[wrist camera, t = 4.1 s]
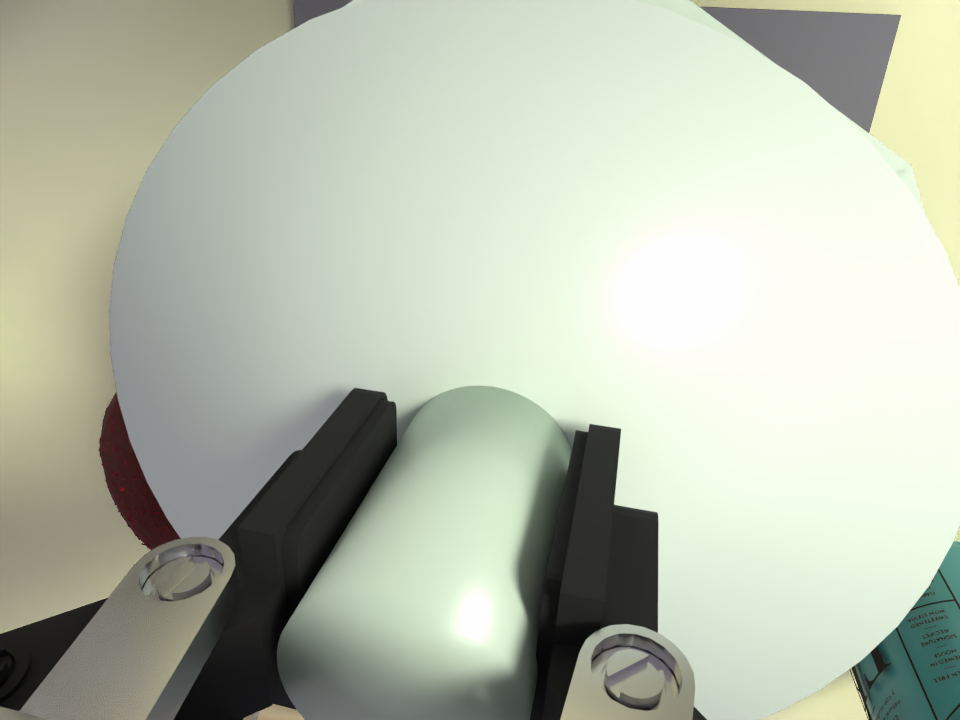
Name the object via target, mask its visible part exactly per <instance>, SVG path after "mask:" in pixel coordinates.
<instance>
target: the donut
mask: <svg viewBox="0 0 960 720" xmlns="http://www.w3.org/2000/svg"><path fill="white" fill-rule="evenodd" d="M99 445H100V449H99V450H100V456H101V459H102V465H103V468H104V472H105V477H106V480H105V481H106V482H107V485H108V488H109V491H110V494H111V496H112V498H113V500H114V502H115V505H117V507H118V509H119V511H118V512H121V515H122V517H123V518H124V520H125V521H126V522H127V524H128V526H129V528H131V529H132V531H133V532H134V534H135V536H137V537H138V539H139V540H141V541H142V542H143V543H144V544H143V543H142V545H146V546H147V547H148V548H149V549H151V551H152V550H153V549H155V548H156V547H158V546H160V545H163V544H165V543H168V542H171V541H173V540H177V539H181V538H180V537H179V535H178V534H177V532H176V531H175V529H174V528H173V526H172V525H171V524H170V522H169V521H168V519H167V517H166V516H165V514H164V512H163V510H162V508H161V506H160V505H159V503H158V501H157V499H156V497H155V495H154V494H153V492H152V490H151V488H150V486H149V485H148V483H147V481H146V478H145V476H144V474H143V471H142V469H141V466H140V464H139V462H138V459H137V457H136V454H135V452H134V450H133V447H132V445H131V442H130V439H129V436H128V432H127V429H126V426H125V422H124V419H123V415H122V412H121V408H120V405H119V401H118V397H117V392H116V394H115V395H114V397H113V399H112V401H111V403H110V404H109V406H108V408H107V409H106V411H105V416H104V419H103V425H102V433H101V438H100V444H99Z"/></svg>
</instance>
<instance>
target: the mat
mask: <svg viewBox="0 0 960 720" xmlns="http://www.w3.org/2000/svg"><path fill="white" fill-rule="evenodd" d="M351 1H353V0H293V4H294V20H295V28H296V27H298V26H300V25H301V24H303V23H305V22H307V21H309V20H310V19H313V18H316V17H319V16H321V15H324V14H327V13H329V12H332V11H335V10H338V9H340V8H342V7H344V6H345V5H347V4H348V3H350V2H351ZM700 8H701V9H703V10H704V11H705V12H707V13H708V14H709V15H711V16H712V17H713V18H715V19H716V20H717V21H719V22H720V23H721V24H723V25H724V26H725V27H727V28H728V29H730V30H731V31H732V32H734V33H735V34H736V35H738V36H739V37H740V38H742V39H743V40H744V41H746V42H747V43H748V44H750V45H751V46H752V47H754V48H755V49H756V50H758V51H759V52H760V53H762V54H763V55H764V56H766V57H767V58H768V59H770V60H771V61H772V62H774V63H775V64H777V65H778V66H780V67H781V68H783V69H784V70H786V71H788V72H789V73H791V74H792V75H794V76H796V77H797V78H799V79H800V80H802V81H803V82H805V83H806V84H807V85H808V86H810V87H811V88H812V89H813V90H814V91H815V92H816V93H818V94H819V95H820V96H821V97H822V98H823V99H824V100H826V101H827V102H828V103H829V104H830V105H832V106H833V107H834V108H836V109H837V110H838V111H840V112H841V113H842V114H844V115H845V116H846V117H848V118H849V119H850V120H852V121H853V122H854V123H856V124H857V125H858V126H860V127H861V128H862V129H864V130H865V131H866V132H868V133H869V131H870V127H871V124H872V120H873V116H874V113H875V109H876V105H877V101H878V98H879V94H880V90H881V87H882V83H883V79H884V76H885V72H886V68H887V65H888V61H889V57H890V54H891V50H892V46H893V43H894V39H895V35H896V32H897V28H898V24H899V21H900V17H901V15H888V14H864V13H840V12H815V11H791V10H767V9H742V8H718V7H700Z"/></svg>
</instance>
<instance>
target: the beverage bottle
mask: <svg viewBox="0 0 960 720" xmlns="http://www.w3.org/2000/svg"><path fill="white" fill-rule="evenodd" d="M850 669H851V668H850ZM850 669H849V670H850ZM852 670H853V673H854V676H855V679H856V682H857V685H858V688H859V689H858V688H857V686H856V684H855V686H856V688H857V691H859V692H860V693H861V696H862V699H863V702H864V705H865V708H864V710H865V712H866V709H867V713H868V716H867V718H868V717H869V719H868V720H960V542H955V541H954V542H953V543H952V545H951V547H950V549H949V551H948V552H947V554H946V556H945V558H944V560H943V562H942V563H941V565H940V567H939V569H938V571H937V572H936V574H935V576H934V578H933V580H932V581H931V583H930V585H929V587H928V588H927V589H926V591H925V592H924V593H923V594H922V596H921V597H920V598H919V599H918V601H917V602H916V603H915V605H914V606H913V607H912V608H911V610H910V611H909V612H908V614H907V615H906V616H905V617H904V619H903V620H902V621H901V623H900V624H899V625H898V626H897V627H896V628H895V629H894V630H893V631H892V632H891V633H890V634H889V635H888V636H887V637H886V638H885V639H884V640H883V641H882V642H880V643H879V644H878V645H877V646H876V647H875V648H874V649H873V650H872V651H871V652H870V653H869V654H868V655H867V656H866V657H865V658H864V659H863V660H861V661H860V662H859V663H857V664H856V665H854V666H853V667H852ZM850 672H851V671H850ZM851 675H852V673H851ZM852 678H853V676H852ZM853 680H854V679H853ZM854 683H855V681H854ZM859 692H858V694H859ZM859 696H860V695H859ZM860 699H861V697H860ZM861 702H862V700H861ZM862 704H863V703H862ZM863 707H864V706H863ZM866 715H867V714H866Z"/></svg>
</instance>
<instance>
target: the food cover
mask: <svg viewBox="0 0 960 720" xmlns="http://www.w3.org/2000/svg"><path fill="white" fill-rule="evenodd" d="M109 314H110V345H111V360H112V366H113V372H114V378H115V384H116V391H117V397H118V401H119V405H120V408H121V412H122V415H123V419H124V422H125V426H126V429H127V432H128V436H129V439H130V442H131V445H132V447H133V450H134V452H135V454H136V457H137V459H138V462H139V464H140V466H141V469H142V471H143V474H144V476H145V478H146V481H147V483H148V485H149V486H150V488H151V490H152V492H153V494H154V495H155V497H156V499H157V501H158V503H159V505H160V506H161V508H162V510H163V512H164V514H165V516H166V517H167V519H168V521H169V522H170V524H171V525H172V526H173V528H174V529H175V531H176V532H177V534H178V535H179V537H180V538H181V539H182V538H187V537H208V538H212V539H216V540H218V539H219V538H220V537H221V536H222V535H223V534H224V532H225V531H226V530H227V529H228V528H229V527H230V525H231V524H232V523H233V522H234V521H235V519H236V518H237V517H238V516H239V515H240V514H241V512H242V511H243V510H244V509H245V508H246V506H247V505H248V504H249V503H250V502H251V501H252V499H253V498H254V497H255V496H256V495H257V493H258V492H259V491H260V490H261V489H262V488H263V486H264V485H265V484H266V483H267V482H268V480H269V479H270V478H271V477H272V476H273V475H274V473H275V472H276V471H277V470H278V469H279V468H280V466H281V465H282V464H283V463H284V462H285V460H286V459H287V458H288V457H289V456H290V455H291V454H292V453H293V452H294V451H297V450H302V449H303V448H304V447H305V446H306V445H307V443H308V442H309V441H310V440H311V439H312V437H313V436H314V435H315V434H316V433H317V431H318V430H319V429H320V428H321V427H322V425H323V424H324V423H325V422H326V420H327V419H328V418H329V417H330V416H331V414H332V413H333V412H334V411H335V410H336V408H337V407H338V406H339V405H340V404H341V402H342V401H343V400H344V399H345V398H346V396H347V395H348V394H349V393H350V392H351V390H353V389H354V388H360V389H366V390H373V391H379V392H385V394H386V395H387V398H388V401H393V402H395V404H396V410H397V446H396V448H395V449H394V451H393V452H392V454H391V456H390V457H389V459H388V461H387V462H386V464H385V465H384V467H383V469H382V470H381V472H380V474H379V475H378V477H377V478H376V480H375V482H374V483H373V485H372V486H371V488H370V490H369V491H368V493H367V495H366V496H365V498H364V499H363V501H362V503H361V504H360V506H359V508H358V509H357V511H356V512H355V514H354V516H353V517H352V519H351V521H350V522H349V524H348V525H347V527H346V529H345V530H344V532H343V533H342V535H341V537H340V538H339V540H338V542H337V543H336V545H335V546H334V548H333V550H332V551H331V553H330V555H329V556H328V558H327V559H326V561H325V563H324V564H323V566H322V568H321V569H320V571H319V572H318V574H317V576H316V577H315V579H314V580H313V582H312V584H311V585H310V587H309V589H308V590H307V592H306V593H305V595H304V597H303V598H302V600H301V602H300V603H299V605H298V606H297V608H296V610H295V611H294V613H293V614H292V616H291V618H290V619H289V621H288V623H287V624H286V626H285V628H284V629H283V631H282V633H281V636H280V639H279V642H278V647H277V666H278V671H279V676H280V679H281V681H282V684H283V687H284V689H285V691H286V693H287V695H288V697H289V698H290V700H291V702H292V703H293V705H294V706H295V707H296V709H297V710H298V712H299V713H300V714H301V715H302V716H303V718H304V719H305V720H530V716H531V711H532V705H533V700H534V695H535V689H536V684H537V679H538V665H537V659H536V651H537V641H538V632H539V623H540V614H541V605H542V598H543V591H544V585H545V579H546V573H547V568H548V564H549V559H550V554H551V549H552V544H553V539H554V534H555V529H556V525H557V520H558V515H559V510H560V505H561V500H562V495H563V491H564V486H565V481H566V476H567V471H568V466H569V461H570V457H571V452H572V447H573V442H574V437H575V432H576V430H578V431H585V432H588V430H589V425H590V424H594V425H600V426H607V427H613V428H620V429H621V437H620V448H619V458H618V468H617V479H616V489H615V500H614V505H618V506H624V507H630V508H635V509H641V510H647V511H653V512H657V513H658V633H659V634H661V635H663V636H664V637H665V638H667V639H668V640H670V641H671V642H672V643H674V644H675V645H676V646H677V647H678V648H679V649H680V651H681V652H682V653H683V654H684V655H685V656H686V658H687V659H688V662H689V664H690V666H691V668H692V670H693V672H694V680H695V697H694V707H695V708H696V709H697V710H698V711H699V712H700V713H701V714H702V715H703V716H704V717H705V718H706V719H707V720H759V719H761V718H764V717H766V716H769V715H771V714H774V713H776V712H779V711H781V710H783V709H785V708H787V707H789V706H791V705H793V704H794V703H796V702H798V701H800V700H802V699H804V698H806V697H807V696H809V695H811V694H813V693H815V692H817V691H818V690H820V689H822V688H824V687H825V686H827V685H828V684H829V683H831V682H832V681H833V680H835V679H836V678H838V677H839V676H840V675H842V674H843V673H845V672H846V671H847V670H849V669H850V668H852V667H853V666H854V665H856V664H857V663H859V662H860V661H861V660H863V659H864V658H865V657H866V656H867V655H868V654H869V653H870V652H871V651H872V650H873V649H874V648H875V647H876V646H877V645H878V644H879V643H880V642H882V641H883V640H884V639H885V638H886V637H887V636H888V635H889V634H890V633H891V632H892V631H893V630H894V629H895V628H896V627H897V626H898V625H899V624H900V623H901V621H902V620H903V619H904V617H905V616H906V615H907V614H908V612H909V611H910V610H911V608H912V607H913V606H914V605H915V603H916V602H917V601H918V599H919V598H920V597H921V596H922V594H923V593H924V592H925V591H926V589H927V588H928V587H929V585H930V583H931V581H932V580H933V578H934V576H935V574H936V572H937V571H938V569H939V567H940V565H941V563H942V562H943V560H944V558H945V556H946V554H947V552H948V551H949V549H950V547H951V545H952V543H953V542H954V539H955V536H956V533H957V531H958V528H959V525H960V288H959V285H958V282H957V280H956V277H955V274H954V272H953V269H952V267H951V264H950V261H949V259H948V256H947V253H946V251H945V249H944V247H943V245H942V244H941V242H940V240H939V239H938V237H937V235H936V233H935V232H934V230H933V228H932V227H931V225H930V223H929V222H928V220H927V218H926V214H925V211H924V207H923V204H922V200H921V197H920V193H919V190H918V186H917V183H916V179H915V176H914V172H913V169H912V165H911V164H910V163H908V162H907V161H905V160H904V159H903V158H901V157H900V156H899V155H897V154H896V153H895V152H893V151H892V150H891V149H889V148H888V147H887V146H885V145H884V144H883V143H881V142H880V141H879V140H877V139H876V138H874V137H873V136H872V135H870V134H869V133H868V132H866V131H865V130H864V129H862V128H861V127H860V126H858V125H857V124H856V123H854V122H853V121H852V120H850V119H849V118H848V117H846V116H845V115H844V114H842V113H841V112H840V111H838V110H837V109H836V108H834V107H833V106H832V105H830V104H829V103H828V102H827V101H826V100H824V99H823V98H822V97H821V96H820V95H819V94H818V93H816V92H815V91H814V90H813V89H812V88H811V87H810V86H808V85H807V84H806V83H805V82H803V81H802V80H800V79H799V78H797V77H796V76H794V75H792V74H791V73H789V72H788V71H786V70H784V69H783V68H781V67H780V66H778V65H777V64H775V63H774V62H772V61H771V60H770V59H768V58H767V57H766V56H764V55H763V54H762V53H760V52H759V51H758V50H756V49H755V48H754V47H752V46H751V45H750V44H748V43H747V42H746V41H744V40H743V39H742V38H740V37H739V36H738V35H736V34H735V33H734V32H732V31H731V30H730V29H728V28H727V27H725V26H724V25H723V24H721V23H720V22H719V21H717V20H716V19H715V18H713V17H712V16H711V15H709V14H708V13H707V12H705V11H704V10H703V9H701V8H700V7H699V6H697V5H696V4H695V3H693V2H692V1H691V0H353V1H351V2H350V3H348V4H347V5H345V6H344V7H342V8H340V9H338V10H335V11H332V12H329V13H327V14H324V15H321V16H319V17H316V18H313V19H310V20H309V21H307V22H305V23H303V24H301V25H300V26H298V27H296V28H294V29H293V30H291V31H289V32H287V33H286V34H284V35H282V36H280V37H278V38H277V39H275V40H273V41H271V42H270V43H268V44H266V45H264V46H263V47H261V48H259V49H257V50H256V51H254V52H253V53H252V54H251V55H249V56H248V57H247V58H246V59H244V60H243V61H242V62H241V63H240V64H238V65H237V66H236V67H235V68H233V69H232V70H231V71H230V72H228V73H227V74H226V75H225V76H223V77H222V78H221V79H220V80H218V81H217V82H216V83H215V84H213V85H212V86H211V87H210V88H209V89H208V90H207V91H206V93H205V94H204V95H203V96H202V97H201V98H200V99H199V100H198V101H197V103H196V104H195V105H194V106H193V107H192V108H191V109H190V110H189V112H188V113H187V114H186V115H185V116H184V117H183V118H182V119H181V121H180V122H179V123H178V124H177V125H176V126H175V127H174V129H173V130H172V132H171V133H170V135H169V136H168V138H167V140H166V141H165V143H164V144H163V146H162V148H161V149H160V151H159V152H158V154H157V155H156V157H155V159H154V160H153V162H152V163H151V165H150V166H149V168H148V170H147V171H146V173H145V175H144V178H143V180H142V182H141V185H140V187H139V189H138V192H137V194H136V196H135V199H134V201H133V203H132V206H131V208H130V210H129V213H128V215H127V217H126V221H125V225H124V229H123V232H122V236H121V240H120V244H119V248H118V252H117V256H116V260H115V263H114V272H113V281H112V291H111V300H110V309H109Z"/></svg>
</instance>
